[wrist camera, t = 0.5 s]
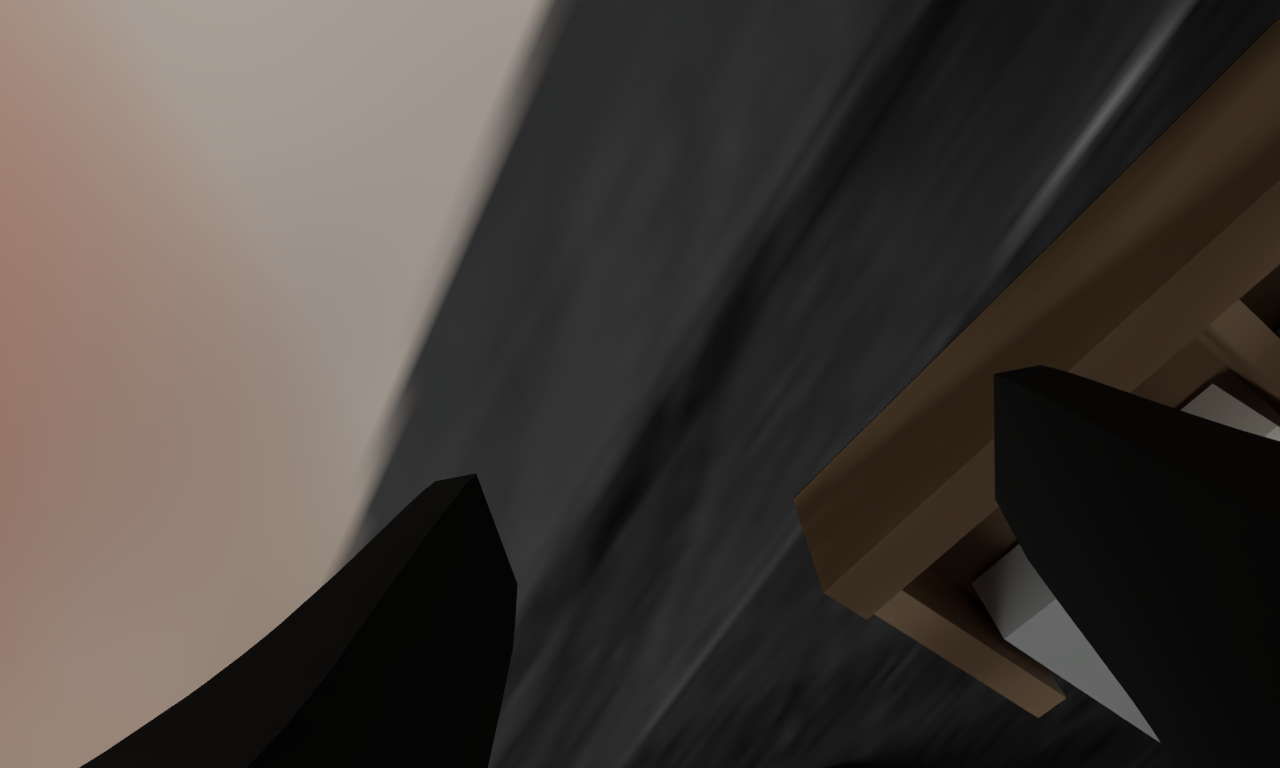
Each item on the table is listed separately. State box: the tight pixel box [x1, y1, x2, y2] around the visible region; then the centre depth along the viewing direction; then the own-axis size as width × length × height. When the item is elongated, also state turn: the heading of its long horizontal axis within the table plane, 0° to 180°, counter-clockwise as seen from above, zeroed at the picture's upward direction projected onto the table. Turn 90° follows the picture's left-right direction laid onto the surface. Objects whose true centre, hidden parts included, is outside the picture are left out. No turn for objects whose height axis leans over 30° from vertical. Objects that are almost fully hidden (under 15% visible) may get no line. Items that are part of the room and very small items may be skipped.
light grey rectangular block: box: [972, 545, 1160, 742], centre depth 22 cm, size 8×3×2 cm, turn 53°
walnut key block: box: [793, 19, 1280, 718], centre depth 19 cm, size 8×16×4 cm, turn 143°
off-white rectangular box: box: [1181, 384, 1280, 441], centre depth 20 cm, size 8×3×2 cm, turn 53°
